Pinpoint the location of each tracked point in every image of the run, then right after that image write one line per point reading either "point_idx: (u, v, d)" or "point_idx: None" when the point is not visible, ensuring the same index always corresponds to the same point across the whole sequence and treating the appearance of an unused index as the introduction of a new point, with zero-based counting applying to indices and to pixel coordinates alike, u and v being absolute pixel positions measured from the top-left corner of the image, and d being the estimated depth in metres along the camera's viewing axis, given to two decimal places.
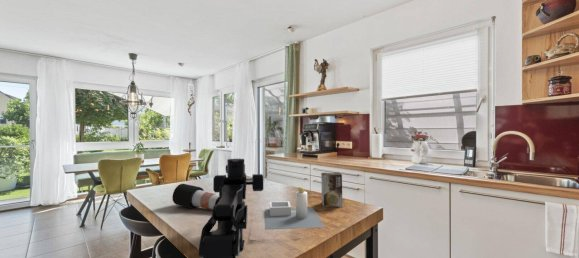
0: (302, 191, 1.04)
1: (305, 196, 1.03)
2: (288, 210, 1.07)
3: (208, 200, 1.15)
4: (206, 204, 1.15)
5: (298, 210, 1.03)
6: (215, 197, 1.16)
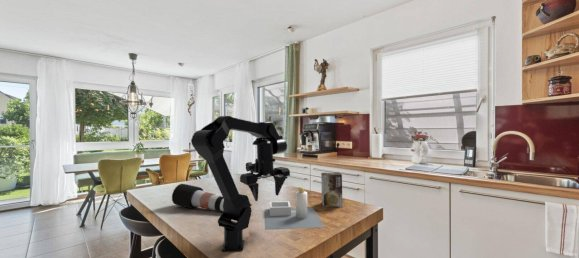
0: (302, 191, 1.04)
1: (305, 196, 1.03)
2: (288, 210, 1.07)
3: (208, 200, 1.15)
4: (206, 204, 1.15)
5: (298, 210, 1.03)
6: (215, 197, 1.16)
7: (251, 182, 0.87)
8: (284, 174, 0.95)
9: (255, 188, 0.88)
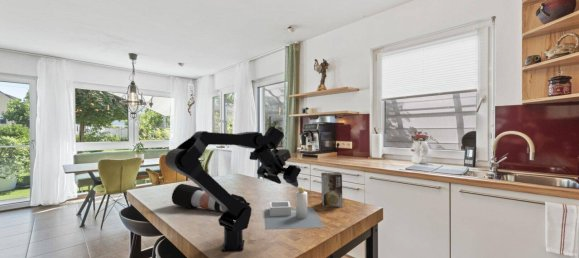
0: (302, 191, 1.04)
1: (305, 196, 1.03)
2: (288, 210, 1.07)
3: (208, 200, 1.15)
4: (206, 204, 1.15)
5: (298, 210, 1.03)
6: None
7: (260, 176, 1.00)
8: (285, 180, 0.90)
9: None
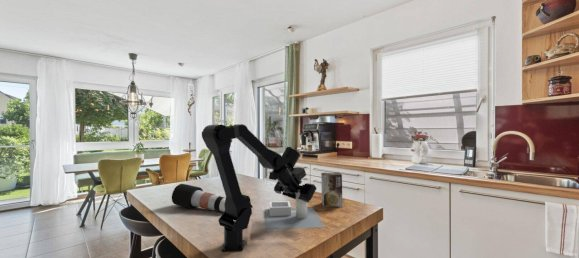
0: None
1: None
2: (288, 210, 1.07)
3: (207, 200, 1.15)
4: (205, 204, 1.15)
5: (298, 210, 1.03)
6: (214, 197, 1.16)
7: (277, 192, 1.06)
8: (302, 198, 0.96)
9: (287, 196, 1.05)
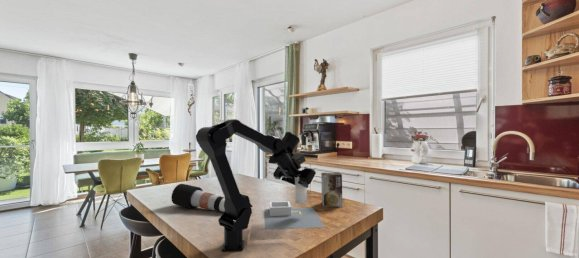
0: None
1: None
2: (288, 210, 1.07)
3: (207, 200, 1.15)
4: (205, 204, 1.15)
5: (297, 195, 1.03)
6: (214, 197, 1.15)
7: (276, 178, 1.06)
8: (302, 182, 0.96)
9: None
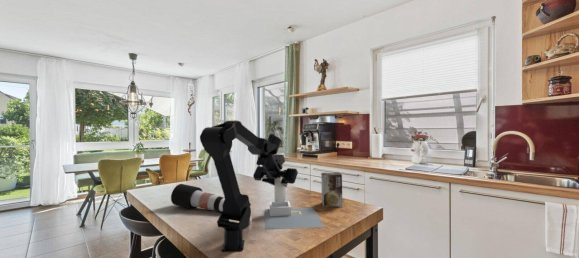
0: None
1: None
2: (288, 210, 1.07)
3: (207, 200, 1.15)
4: (205, 204, 1.15)
5: (278, 195, 1.09)
6: (214, 197, 1.15)
7: (256, 179, 1.08)
8: (286, 181, 1.02)
9: (266, 182, 1.09)
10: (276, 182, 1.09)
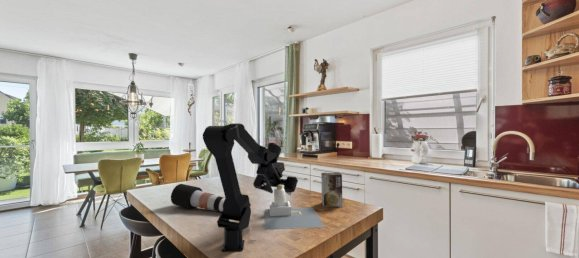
0: (281, 188, 1.10)
1: (284, 192, 1.10)
2: (288, 210, 1.07)
3: (207, 200, 1.15)
4: (205, 204, 1.14)
5: (278, 206, 1.09)
6: (214, 197, 1.15)
7: (256, 187, 1.08)
8: (286, 190, 1.02)
9: (263, 190, 1.10)
10: (276, 193, 1.09)
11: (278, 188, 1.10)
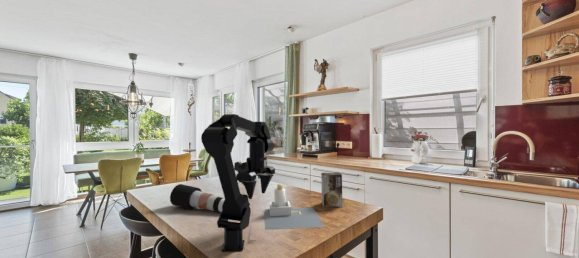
0: (281, 188, 1.10)
1: (284, 193, 1.10)
2: (288, 210, 1.07)
3: (206, 201, 1.14)
4: (204, 205, 1.14)
5: (278, 206, 1.08)
6: (213, 198, 1.15)
7: (252, 179, 0.88)
8: (272, 172, 1.01)
9: (253, 185, 0.90)
10: (276, 193, 1.09)
11: (278, 188, 1.10)
